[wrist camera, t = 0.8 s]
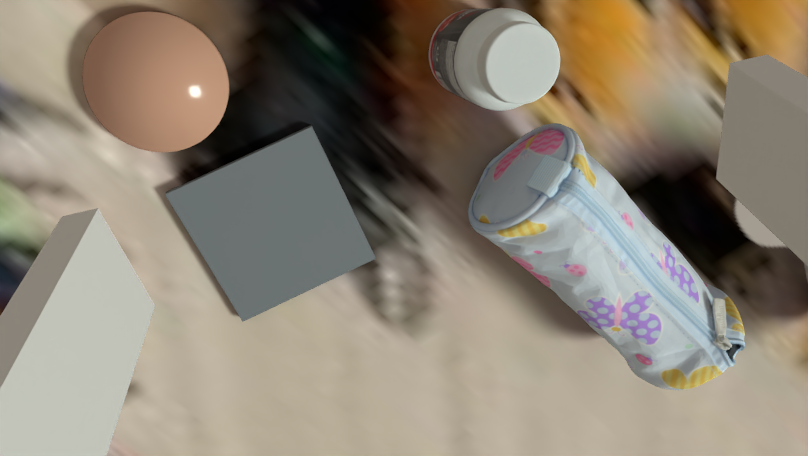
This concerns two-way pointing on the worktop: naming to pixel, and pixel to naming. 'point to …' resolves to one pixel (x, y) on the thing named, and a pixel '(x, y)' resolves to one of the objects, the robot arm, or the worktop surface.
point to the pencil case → (605, 259)
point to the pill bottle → (494, 57)
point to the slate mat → (272, 223)
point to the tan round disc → (155, 81)
